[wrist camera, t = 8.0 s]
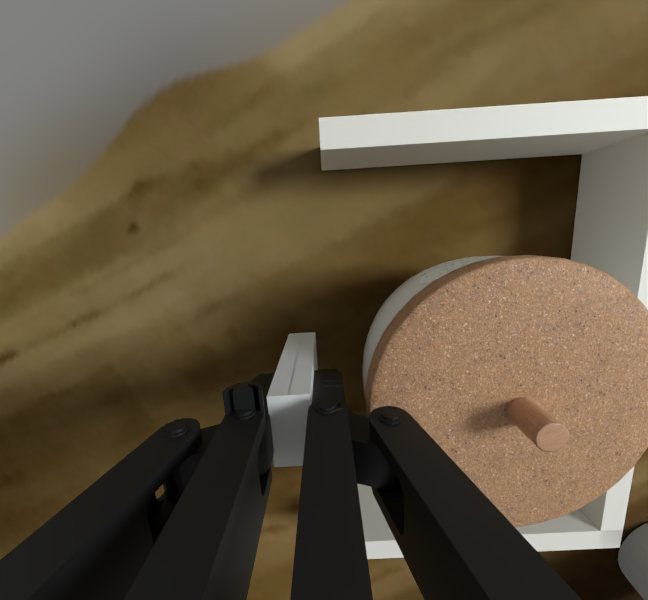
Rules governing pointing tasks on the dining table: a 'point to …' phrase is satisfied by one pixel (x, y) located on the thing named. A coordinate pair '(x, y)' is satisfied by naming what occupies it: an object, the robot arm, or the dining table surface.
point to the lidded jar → (518, 376)
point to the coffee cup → (636, 559)
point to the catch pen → (588, 237)
